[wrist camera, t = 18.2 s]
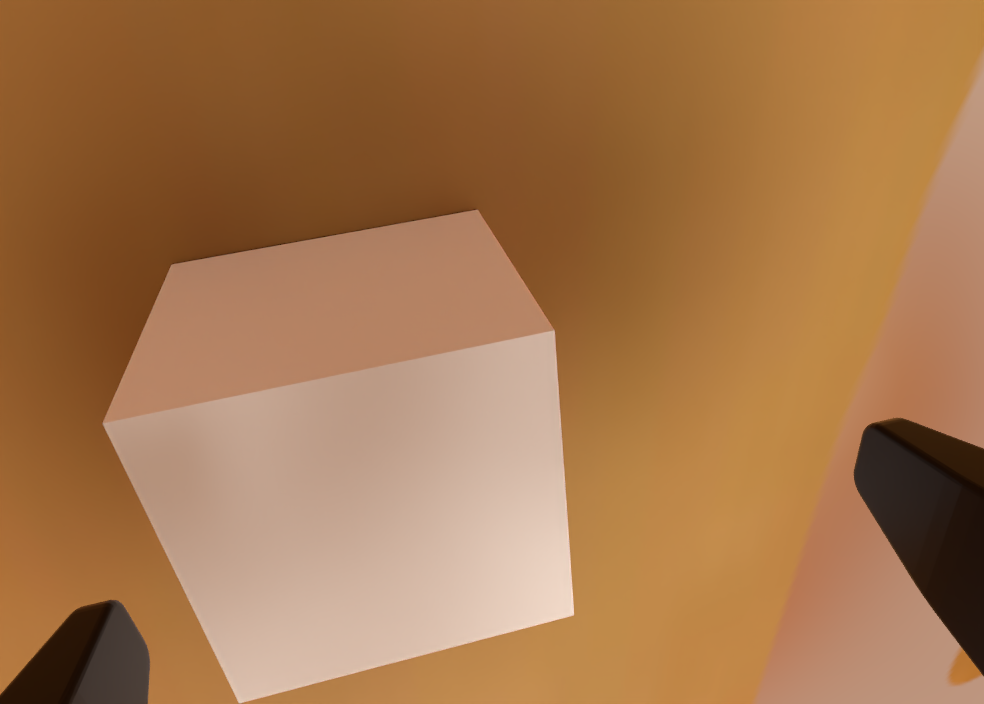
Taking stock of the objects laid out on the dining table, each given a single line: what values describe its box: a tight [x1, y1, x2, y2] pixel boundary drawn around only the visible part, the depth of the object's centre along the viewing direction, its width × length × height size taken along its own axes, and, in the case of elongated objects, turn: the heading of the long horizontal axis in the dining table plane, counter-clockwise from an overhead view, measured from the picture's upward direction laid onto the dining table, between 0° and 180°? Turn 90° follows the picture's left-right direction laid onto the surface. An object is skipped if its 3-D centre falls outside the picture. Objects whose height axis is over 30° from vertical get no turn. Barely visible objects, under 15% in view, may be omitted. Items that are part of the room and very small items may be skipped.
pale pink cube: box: [102, 210, 574, 703], centre depth 17 cm, size 8×8×7 cm
